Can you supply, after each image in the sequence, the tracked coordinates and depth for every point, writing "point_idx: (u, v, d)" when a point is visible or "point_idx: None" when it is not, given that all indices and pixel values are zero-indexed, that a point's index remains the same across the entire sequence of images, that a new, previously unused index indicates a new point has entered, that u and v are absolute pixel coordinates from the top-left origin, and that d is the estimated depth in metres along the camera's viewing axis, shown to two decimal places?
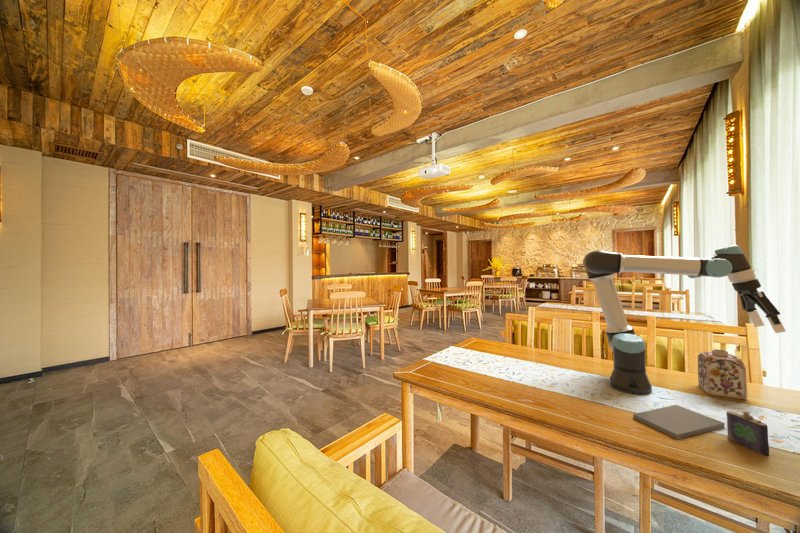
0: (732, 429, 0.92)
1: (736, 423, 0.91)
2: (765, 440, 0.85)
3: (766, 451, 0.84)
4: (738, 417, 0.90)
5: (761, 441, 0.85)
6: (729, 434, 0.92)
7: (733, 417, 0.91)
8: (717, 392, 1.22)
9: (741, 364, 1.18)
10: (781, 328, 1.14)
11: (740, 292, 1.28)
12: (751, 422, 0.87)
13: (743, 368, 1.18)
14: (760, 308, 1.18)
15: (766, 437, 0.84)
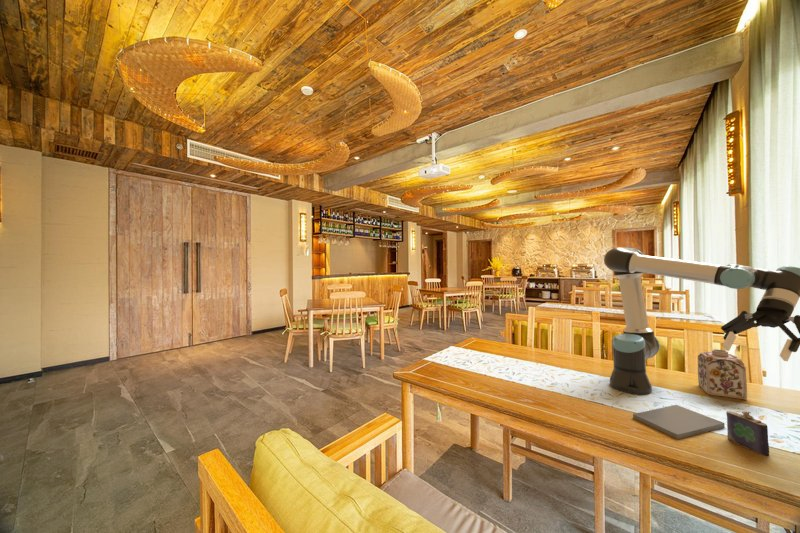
0: (732, 429, 0.92)
1: (736, 423, 0.91)
2: (764, 440, 0.85)
3: (766, 451, 0.84)
4: (738, 417, 0.90)
5: (761, 441, 0.85)
6: (729, 434, 0.92)
7: (733, 417, 0.91)
8: (717, 392, 1.22)
9: (741, 364, 1.18)
10: (787, 355, 0.91)
11: (746, 313, 1.06)
12: (751, 422, 0.87)
13: (743, 368, 1.18)
14: (783, 330, 0.95)
15: (766, 437, 0.84)
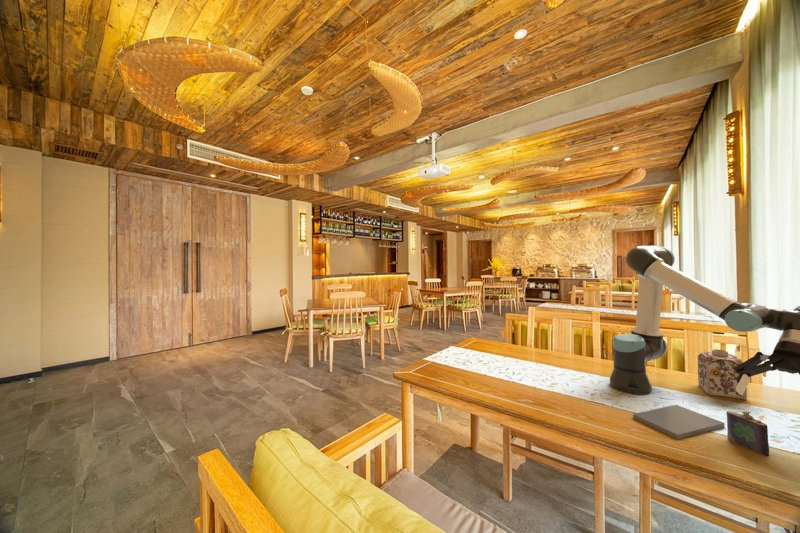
0: (732, 429, 0.92)
1: (736, 423, 0.91)
2: (764, 440, 0.85)
3: (766, 451, 0.84)
4: (738, 417, 0.90)
5: (761, 441, 0.85)
6: (729, 434, 0.92)
7: (733, 417, 0.91)
8: (717, 392, 1.22)
9: None
10: None
11: (762, 354, 0.99)
12: (751, 422, 0.87)
13: None
14: None
15: (766, 437, 0.84)
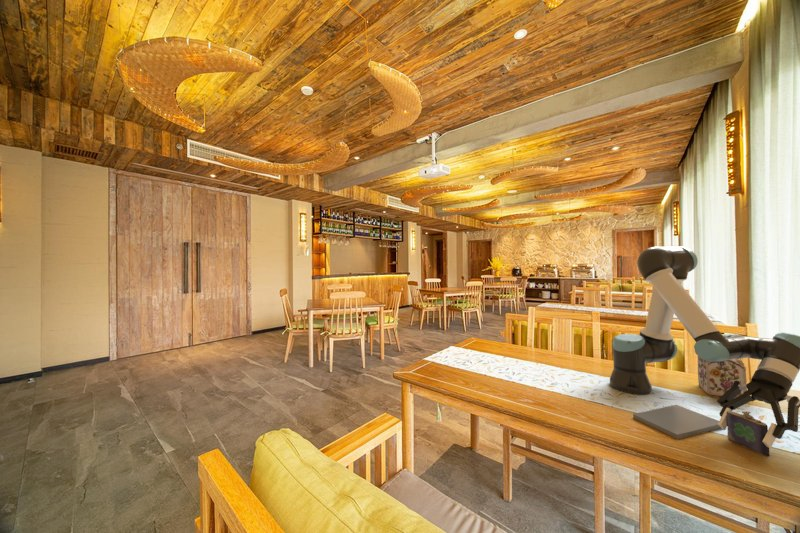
0: (732, 429, 0.91)
1: (736, 423, 0.91)
2: None
3: (766, 451, 0.84)
4: (738, 417, 0.90)
5: (761, 441, 0.85)
6: (729, 434, 0.92)
7: (733, 417, 0.91)
8: (717, 392, 1.22)
9: (741, 364, 1.18)
10: (771, 442, 0.84)
11: (739, 383, 0.97)
12: (751, 422, 0.87)
13: (743, 368, 1.18)
14: None
15: None
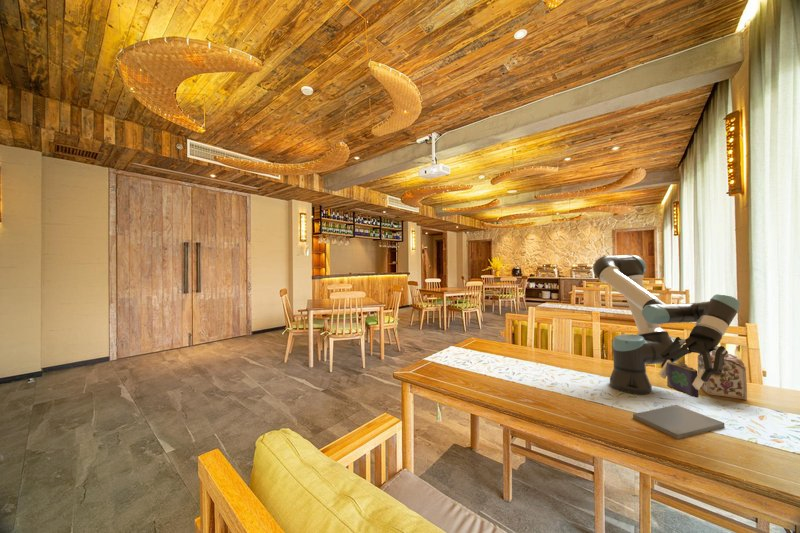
0: (670, 377, 1.04)
1: (673, 371, 1.03)
2: None
3: (696, 393, 0.97)
4: (675, 366, 1.03)
5: None
6: (668, 382, 1.05)
7: (671, 366, 1.04)
8: (717, 392, 1.22)
9: (741, 364, 1.18)
10: (699, 385, 0.97)
11: (680, 339, 1.09)
12: (685, 369, 1.00)
13: (743, 368, 1.18)
14: (703, 359, 0.99)
15: None
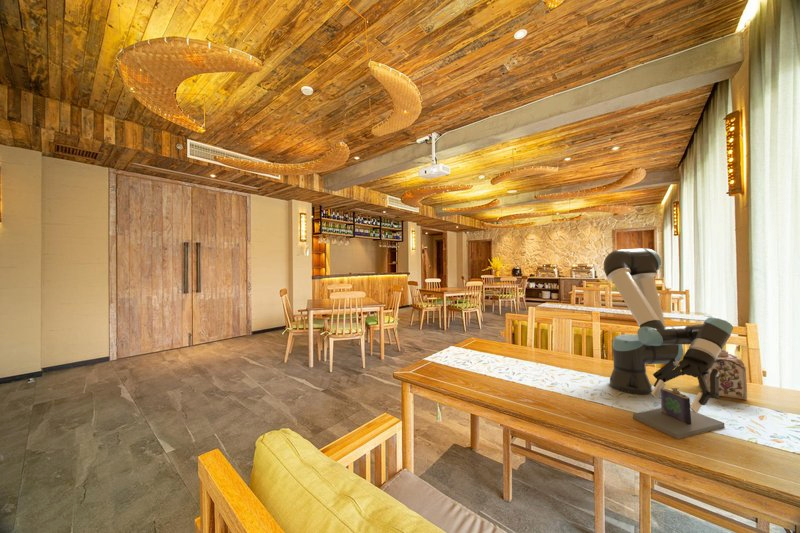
0: (664, 403, 1.06)
1: (667, 397, 1.05)
2: (687, 411, 0.99)
3: (688, 420, 0.99)
4: (668, 392, 1.05)
5: (684, 412, 1.00)
6: (662, 408, 1.07)
7: (665, 393, 1.06)
8: None
9: (741, 364, 1.18)
10: (697, 408, 0.97)
11: (674, 360, 1.11)
12: (677, 396, 1.02)
13: (743, 368, 1.18)
14: (699, 382, 1.00)
15: (688, 408, 0.99)
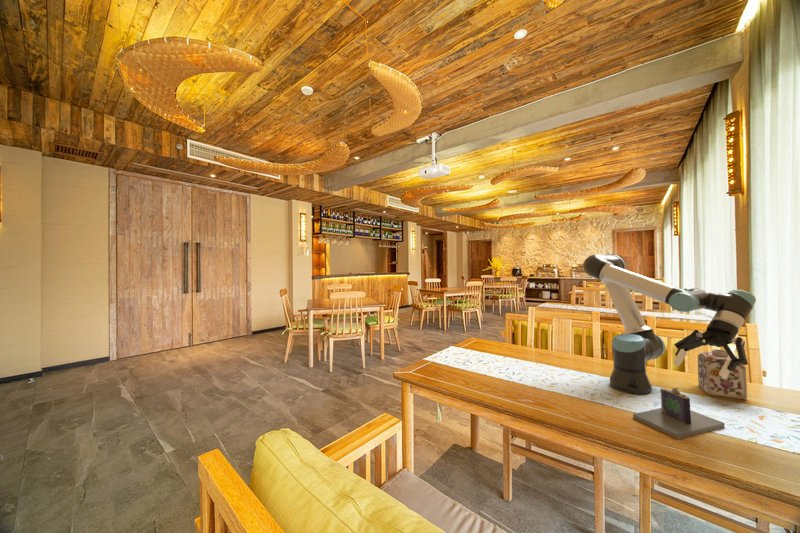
0: (664, 403, 1.06)
1: (667, 398, 1.05)
2: (687, 411, 0.99)
3: (688, 420, 0.99)
4: (668, 392, 1.05)
5: (684, 412, 1.00)
6: (662, 408, 1.07)
7: (665, 393, 1.06)
8: (717, 392, 1.22)
9: (741, 364, 1.18)
10: (726, 374, 1.00)
11: (697, 332, 1.14)
12: (677, 396, 1.02)
13: (743, 368, 1.18)
14: (725, 350, 1.03)
15: (688, 408, 0.99)
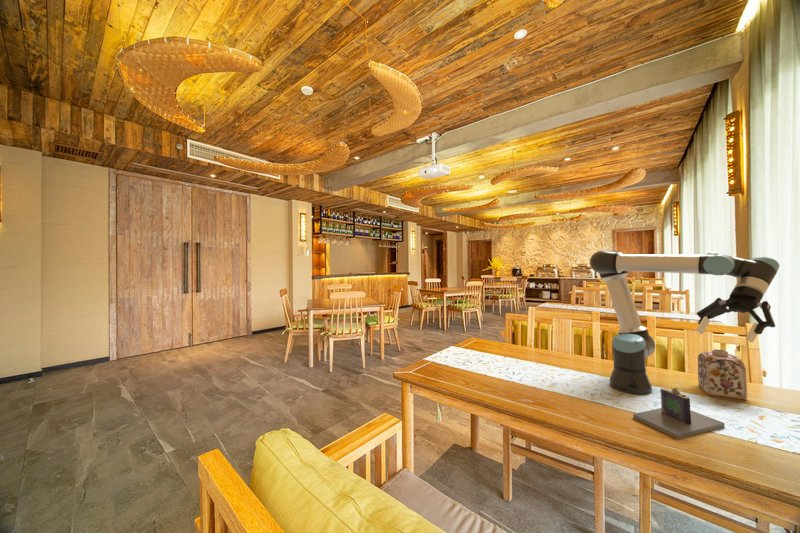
0: (664, 403, 1.06)
1: (667, 397, 1.05)
2: (687, 411, 0.99)
3: (688, 420, 0.99)
4: (668, 392, 1.05)
5: (684, 412, 1.00)
6: (662, 408, 1.07)
7: (665, 393, 1.06)
8: (717, 392, 1.22)
9: (741, 364, 1.18)
10: (753, 337, 0.99)
11: (720, 300, 1.14)
12: (677, 396, 1.02)
13: (743, 368, 1.18)
14: (751, 314, 1.02)
15: (688, 408, 0.99)
